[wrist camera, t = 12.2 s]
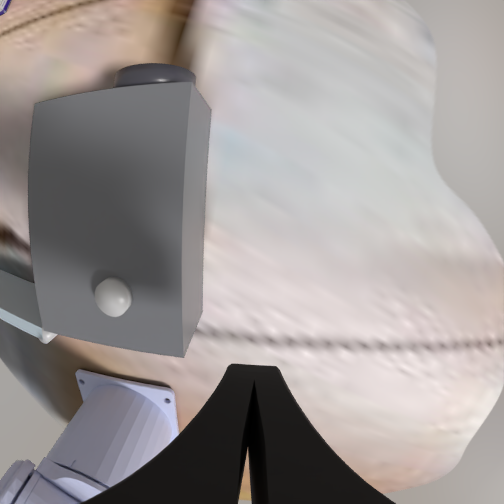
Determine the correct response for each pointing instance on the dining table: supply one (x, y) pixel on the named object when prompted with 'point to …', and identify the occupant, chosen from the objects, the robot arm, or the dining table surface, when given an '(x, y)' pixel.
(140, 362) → the dining table surface
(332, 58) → the dining table surface
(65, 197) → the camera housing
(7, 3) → the supplement box
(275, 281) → the dining table surface
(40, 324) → the side door
